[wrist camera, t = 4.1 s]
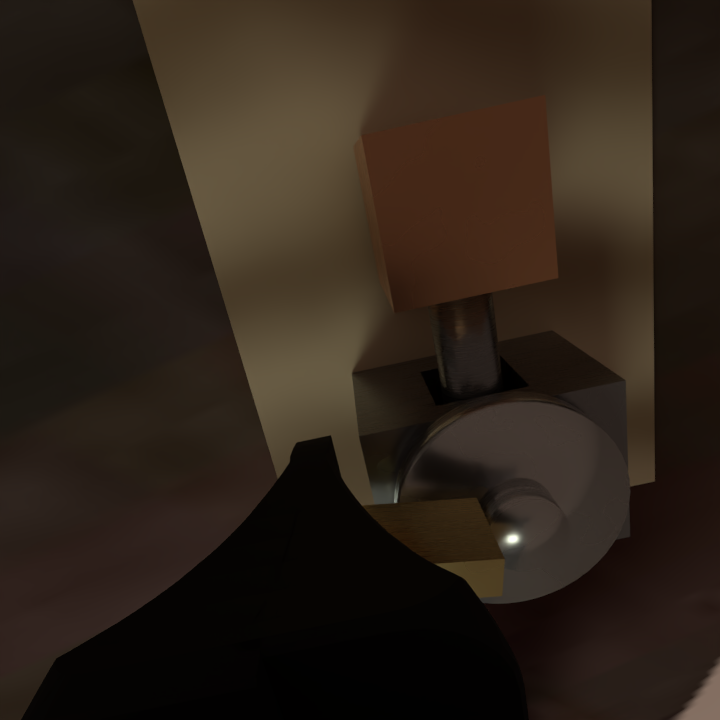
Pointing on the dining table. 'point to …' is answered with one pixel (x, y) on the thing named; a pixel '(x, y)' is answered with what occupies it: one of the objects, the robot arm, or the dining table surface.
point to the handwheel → (510, 495)
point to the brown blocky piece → (461, 226)
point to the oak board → (344, 195)
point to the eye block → (519, 374)
